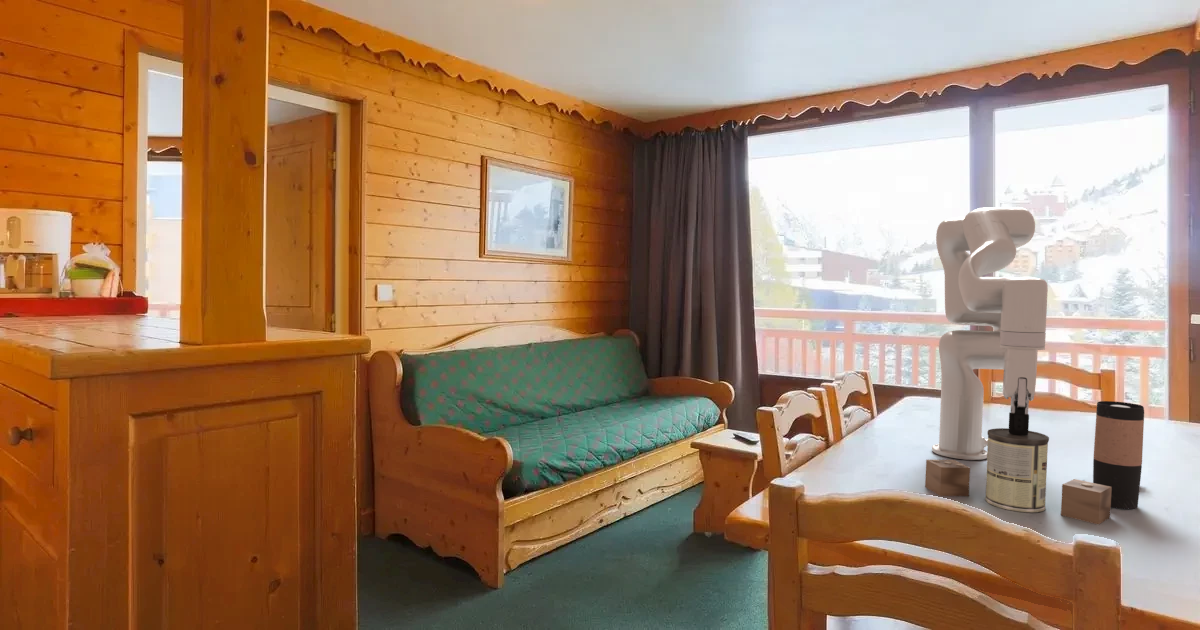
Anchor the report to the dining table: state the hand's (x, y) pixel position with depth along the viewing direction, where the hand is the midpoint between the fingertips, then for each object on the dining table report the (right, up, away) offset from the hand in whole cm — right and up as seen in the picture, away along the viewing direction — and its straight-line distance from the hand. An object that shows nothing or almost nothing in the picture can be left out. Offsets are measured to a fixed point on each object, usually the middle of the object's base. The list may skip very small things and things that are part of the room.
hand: (1018, 433), depth 132 cm
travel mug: (+20, -15, +2) cm, 25 cm away
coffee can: (0, -14, +1) cm, 14 cm away
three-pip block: (-10, -14, +9) cm, 19 cm away
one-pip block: (+9, -15, -6) cm, 18 cm away
